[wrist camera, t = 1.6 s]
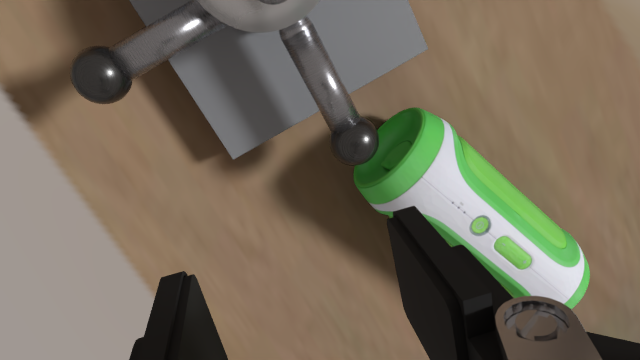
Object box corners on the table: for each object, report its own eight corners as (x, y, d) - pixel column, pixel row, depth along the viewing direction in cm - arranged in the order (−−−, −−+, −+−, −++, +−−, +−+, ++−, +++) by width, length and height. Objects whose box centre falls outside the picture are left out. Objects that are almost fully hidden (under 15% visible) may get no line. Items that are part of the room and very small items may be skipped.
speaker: (337, 170, 34) (362, 212, 27) (404, 91, 33) (449, 113, 26) (490, 288, 40) (543, 347, 33) (552, 225, 39) (621, 273, 32)
